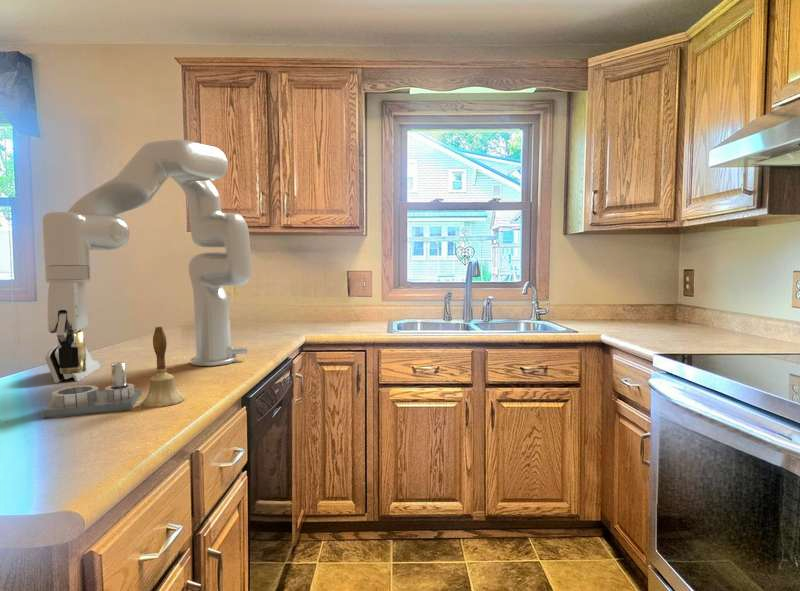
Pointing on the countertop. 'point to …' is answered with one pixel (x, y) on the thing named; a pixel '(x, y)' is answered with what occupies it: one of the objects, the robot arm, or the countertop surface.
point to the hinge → (54, 368)
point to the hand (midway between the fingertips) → (73, 364)
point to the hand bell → (161, 377)
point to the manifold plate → (93, 406)
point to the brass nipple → (81, 354)
